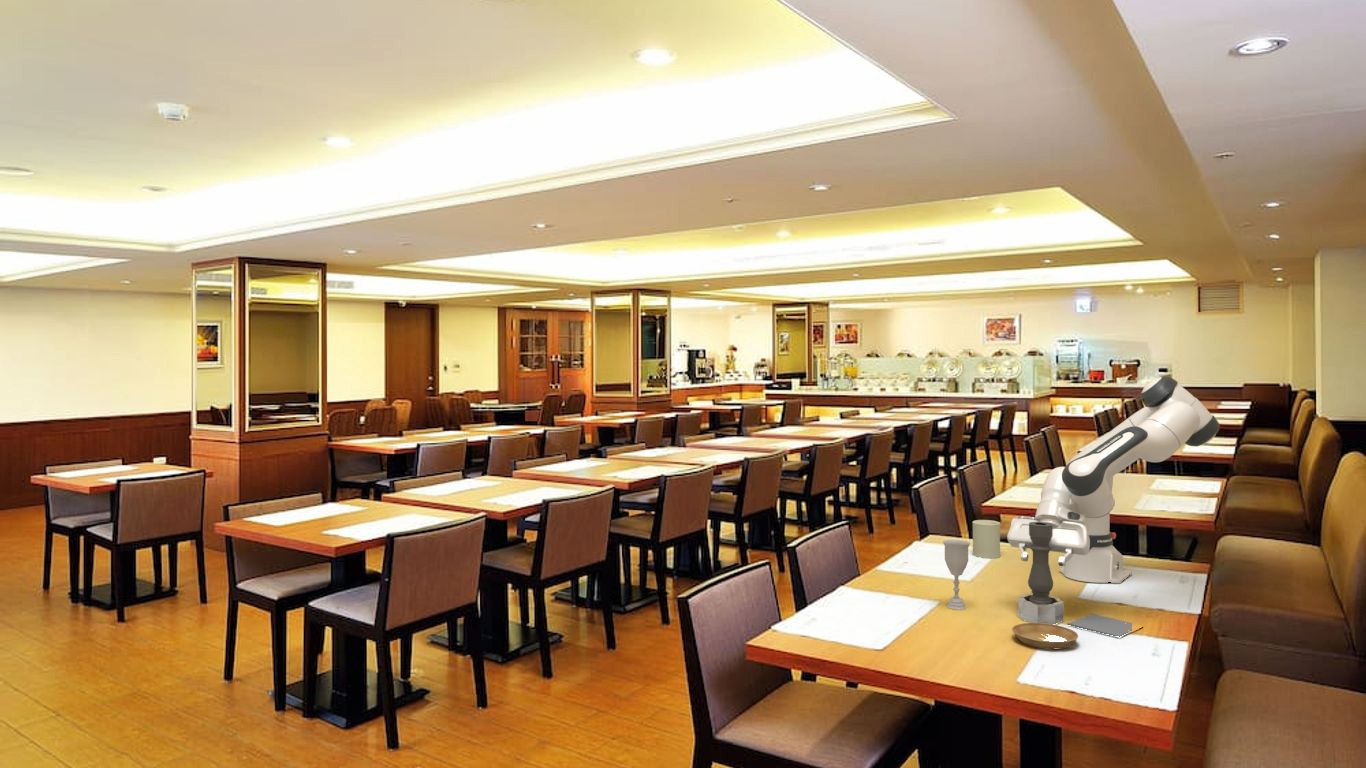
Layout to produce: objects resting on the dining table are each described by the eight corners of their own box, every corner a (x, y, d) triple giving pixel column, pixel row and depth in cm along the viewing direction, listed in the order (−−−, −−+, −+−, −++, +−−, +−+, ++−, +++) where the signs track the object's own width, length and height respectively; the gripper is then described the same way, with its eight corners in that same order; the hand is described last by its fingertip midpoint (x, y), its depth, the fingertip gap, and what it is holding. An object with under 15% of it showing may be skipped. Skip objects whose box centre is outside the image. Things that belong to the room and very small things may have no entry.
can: (997, 559, 286) (997, 524, 286) (969, 556, 291) (969, 521, 291) (1003, 554, 294) (1003, 520, 293) (976, 551, 299) (976, 517, 298)
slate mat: (1092, 615, 224) (1092, 613, 224) (1143, 627, 213) (1143, 625, 213) (1067, 625, 216) (1067, 623, 216) (1119, 638, 205) (1119, 636, 205)
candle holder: (1023, 615, 225) (1023, 521, 224) (1045, 614, 225) (1045, 521, 224) (1035, 622, 219) (1035, 526, 218) (1058, 621, 219) (1058, 525, 218)
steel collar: (1032, 610, 229) (1032, 591, 229) (1069, 619, 221) (1069, 600, 221) (1012, 617, 223) (1012, 598, 223) (1048, 627, 215) (1048, 607, 215)
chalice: (971, 605, 234) (971, 540, 234) (969, 611, 228) (969, 545, 228) (944, 602, 237) (944, 538, 237) (940, 608, 231) (940, 543, 231)
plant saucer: (998, 637, 209) (998, 626, 208) (1045, 629, 214) (1045, 619, 214) (1043, 656, 195) (1043, 645, 195) (1092, 648, 200) (1092, 637, 200)
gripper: (1010, 508, 233) (999, 550, 226) (1091, 516, 220) (1081, 560, 213) (1015, 522, 237) (1004, 563, 229) (1095, 530, 224) (1086, 574, 217)
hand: (1042, 562), depth 221 cm, fingers open, 8 cm apart
